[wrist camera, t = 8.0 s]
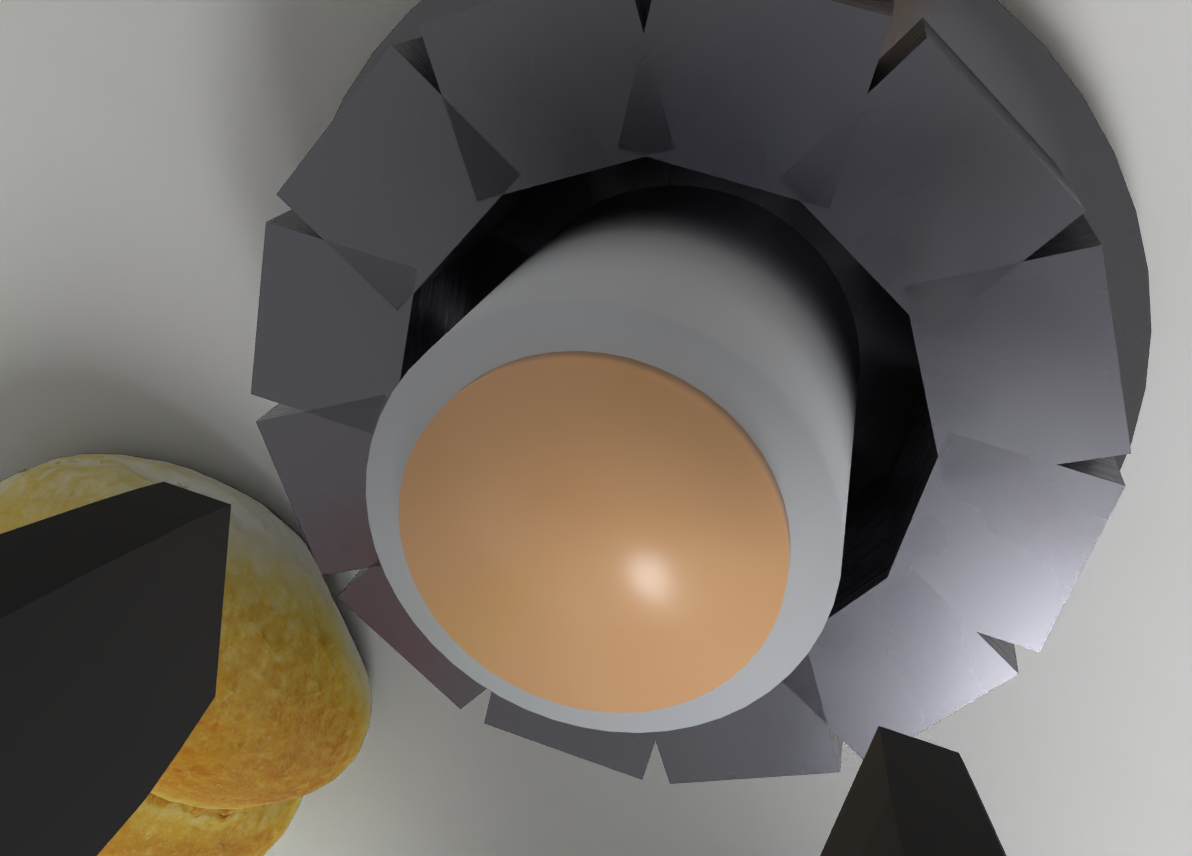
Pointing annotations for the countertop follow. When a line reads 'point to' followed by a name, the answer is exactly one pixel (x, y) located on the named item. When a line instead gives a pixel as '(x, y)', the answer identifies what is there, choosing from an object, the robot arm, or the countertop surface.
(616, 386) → the cup
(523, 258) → the toothed ring bowl
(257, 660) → the bread roll
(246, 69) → the countertop surface
